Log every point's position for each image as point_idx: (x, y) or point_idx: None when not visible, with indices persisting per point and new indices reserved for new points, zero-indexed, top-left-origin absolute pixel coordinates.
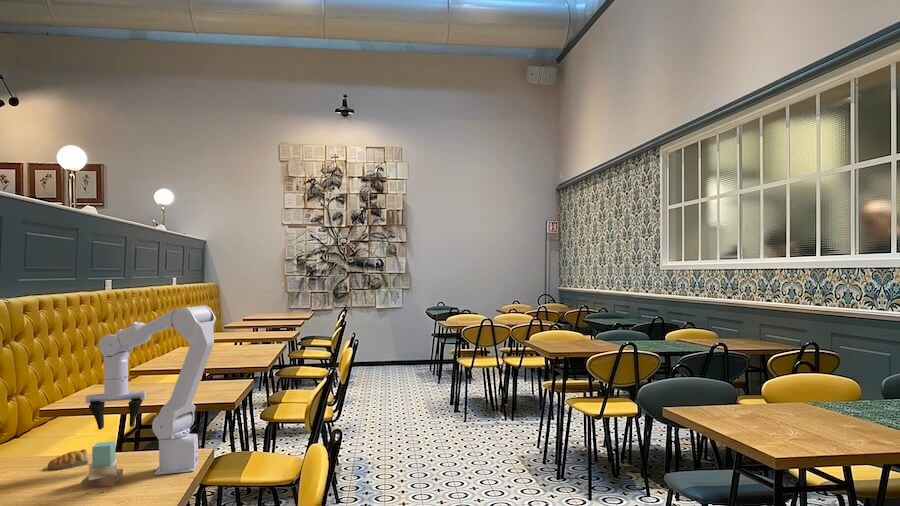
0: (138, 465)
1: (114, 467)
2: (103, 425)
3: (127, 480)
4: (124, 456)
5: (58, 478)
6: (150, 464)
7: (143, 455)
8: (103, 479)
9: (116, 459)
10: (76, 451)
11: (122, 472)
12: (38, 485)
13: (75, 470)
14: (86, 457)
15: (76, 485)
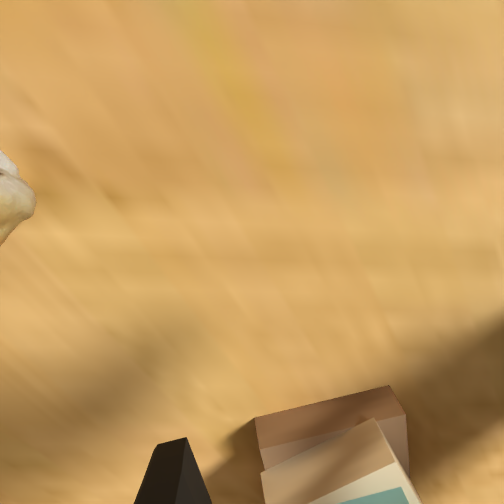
0: (413, 239)
1: None
2: (187, 464)
3: (432, 429)
4: (222, 24)
5: (56, 416)
6: (480, 225)
7: (371, 13)
8: None
9: (399, 470)
10: None
11: (397, 402)
12: (30, 488)
13: (52, 309)
14: (12, 211)
15: (225, 481)
